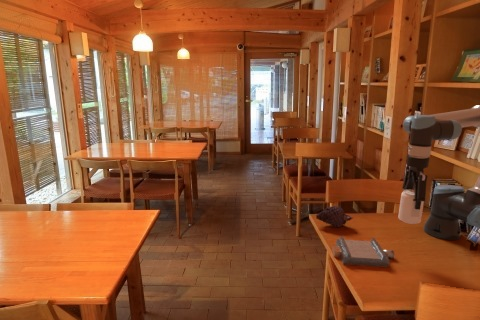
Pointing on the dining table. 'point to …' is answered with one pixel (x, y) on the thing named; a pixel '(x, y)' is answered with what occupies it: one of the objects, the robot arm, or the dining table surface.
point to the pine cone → (333, 216)
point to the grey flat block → (362, 252)
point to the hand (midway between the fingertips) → (410, 211)
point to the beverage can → (408, 208)
